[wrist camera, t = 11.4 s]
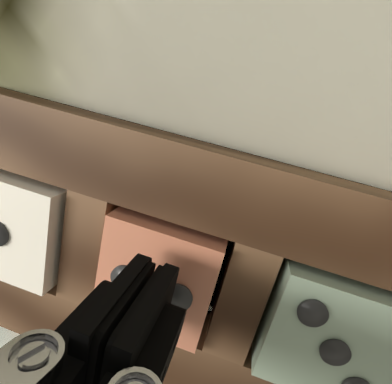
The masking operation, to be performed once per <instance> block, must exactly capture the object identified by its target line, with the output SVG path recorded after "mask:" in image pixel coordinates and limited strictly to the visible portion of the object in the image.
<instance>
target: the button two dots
mask: <svg viewBox="0 0 392 384" xmlns="http://www.w3.org/2000/svg"><path fill="white" fill-rule="evenodd" d="M227 243H228V240H226V239H223V238H219V237H216V236H213V235H210V234H207V233H204V232H200V231H197V230H194V229H191V228H188V227H184V226H181V225H178V224H175V223H172V222H168V221H165V220H162V219H159V218H156V217H152V216H149V215H146V214H143V213H140V212H137V211H133V210H130V209H127V208H124V207H121V206H119V207H118V208H116V209H115V210H113V211H111V212H110V213H108V214H107V215H105V221H104V228H103V234H102V241H101V247H100V254H99V261H98V267H97V274H96V280H95V287H94V289H95V288H96V287H97V286H98V285H99V284H100V283H101V282H102V281H103V280H107V281H110V282H112V281H113V280H114V279H115V278H116V277H117V276H118V275H119V273H120V272H121V271H122V270H123V269H124V268H125V267H126V266H127V264H128V263H129V262H130V261H131V260H132V259H133V258H134V257H135V256H136V255H137V254H138V253H139V254H142V255H145V256H148V257H151V258H152V262H153V263H155V264H156V266H155V270H156V268H157V267H158V265H162V266H164V264H165V263H168V264H171V265H174V266H177V267H179V268H180V269H179V274H178V278H177V282H176V286H175V290H174V294H173V298H172V302H171V304H173V305H176V306H179V307H181V308H184V309H187V311H186V315H185V319H184V323H183V326H182V330H181V333H180V336H179V339H178V342H177V345H176V347H178V348H181V349H183V350H186V351H189V352H191V353H194V354H195V351H196V348H197V344H198V341H199V338H200V334H201V331H202V328H203V325H204V321H205V318H206V315H207V311H208V308H209V305H210V302H211V298H212V295H213V292H214V288H215V285H216V282H217V279H218V275H219V272H220V269H221V265H222V262H223V259H224V256H225V252H226V248H227Z"/></svg>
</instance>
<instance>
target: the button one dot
mask: <svg viewBox="0 0 392 384" xmlns="http://www.w3.org/2000/svg"><path fill="white" fill-rule="evenodd" d="M66 195H67V190H66V189H63V188H60V187H57V186H54V185H50V184H47V183H44V182H41V181H38V180H34V179H31V178H28V177H25V176H22V175H19V174H15V173H12V172H9V171H6V170H3V169H0V281H3V282H5V283H8V284H10V285H13V286H16V287H18V288H21V289H24V290H26V291H29V292H32V293H34V294H37V295H40V296H43V295H45V294H46V293H47V292H48V291H49V290H51V289H52V288H53V287H54V286H55V285H57V281H58V271H59V262H60V252H61V243H62V233H63V223H64V214H65V204H66Z"/></svg>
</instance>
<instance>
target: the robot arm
mask: <svg viewBox="0 0 392 384" xmlns="http://www.w3.org/2000/svg"><path fill="white" fill-rule="evenodd" d="M155 266H156V264H155V263H153V262H152V258H151V257H148V256H145V255H142V254H139V253H138V254H137V255H136V256H135V257H134V258H133V259H132V260H131V261H130V262H129V263H128V264H127V266H126V267H125V268H124V269H123V270H122V271H121V272H120V273H119V275H118V276H117V277H116V278H115V279H114V280H113V281H112V282H110V281H107V280H103V281H102V282H101V283H100V284H99V285H98V286H97V287H96V288H95V289H94V290H93V291H92V292H91V293H90V294H89V295H88V296H87V297H86V298H85V299H84V300H83V301H82V302H81V303H80V304H79V305H78V307H77V308H76V309H75V310H74V311H73V312H72V313H71V314H70V315H69V316H68V317H67V318H66V319H65V320H64V321H63V322H62V323H61V324H60V325H59V326H58V327H57V328H56V329H55V330H54V331H53V330H50V329H35V330H30V331H27V332H24V333H22V334H20V335H19V336H17V337H15V338H14V339H12V340H11V341H10V342H8V343H7V344H5V345H4V346H3V347H1V348H0V384H163V381H164V378H165V375H166V373H167V370H168V367H169V365H170V362H171V359H172V356H173V354H174V351H175V348H176V345H177V342H178V339H179V336H180V333H181V330H182V326H183V323H184V319H185V315H186V311H187V309H184V308H181V307H179V306H176V305H173V304H171V302H172V298H173V294H174V290H175V286H176V282H177V278H178V274H179V269H180V268H179V267H177V266H174V265H171V264H168V263H165V264H164V266H162V265H158V267H157V268H156V270H155Z"/></svg>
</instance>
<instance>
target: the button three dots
mask: <svg viewBox="0 0 392 384" xmlns="http://www.w3.org/2000/svg"><path fill="white" fill-rule="evenodd" d="M251 375H253V376H255V377H258V378H261V379H263V380H266V381H269V382H271V383H274V384H392V291H388V290H385V289H382V288H379V287H376V286H373V285H369V284H366V283H363V282H360V281H357V280H353V279H350V278H347V277H344V276H341V275H337V274H334V273H331V272H328V271H325V270H321V269H318V268H315V267H312V266H309V265H306V264H302V263H299V262H296V261H293V260H290V259H286V258H284V259H283V261H282V264H281V267H280V269H279V272H278V275H277V277H276V280H275V283H274V285H273V288H272V290H271V293H270V296H269V298H268V301H267V304H266V306H265V309H264V312H263V314H262V317H261V320H260V322H259V325H258V328H257V330H256V333H255V336H254V338H253V341H252V364H251Z"/></svg>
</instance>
